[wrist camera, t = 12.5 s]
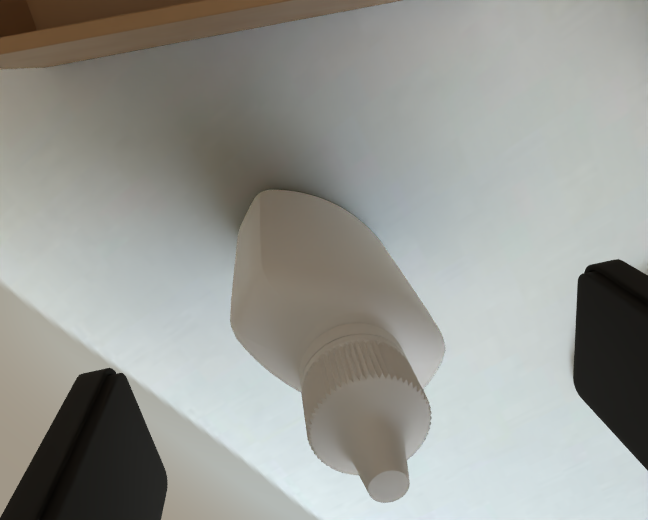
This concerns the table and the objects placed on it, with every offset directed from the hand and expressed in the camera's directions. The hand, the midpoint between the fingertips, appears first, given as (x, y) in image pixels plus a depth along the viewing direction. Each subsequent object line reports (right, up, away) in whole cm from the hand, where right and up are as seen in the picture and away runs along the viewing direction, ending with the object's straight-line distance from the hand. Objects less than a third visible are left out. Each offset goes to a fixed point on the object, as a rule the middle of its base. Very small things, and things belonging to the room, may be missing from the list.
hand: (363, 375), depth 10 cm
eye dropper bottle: (-1, +3, +9) cm, 10 cm away
